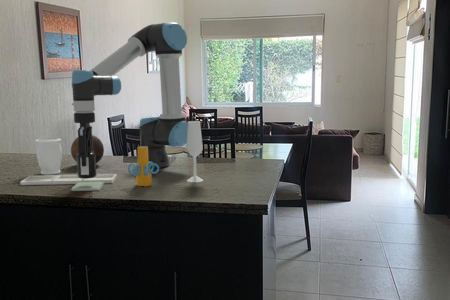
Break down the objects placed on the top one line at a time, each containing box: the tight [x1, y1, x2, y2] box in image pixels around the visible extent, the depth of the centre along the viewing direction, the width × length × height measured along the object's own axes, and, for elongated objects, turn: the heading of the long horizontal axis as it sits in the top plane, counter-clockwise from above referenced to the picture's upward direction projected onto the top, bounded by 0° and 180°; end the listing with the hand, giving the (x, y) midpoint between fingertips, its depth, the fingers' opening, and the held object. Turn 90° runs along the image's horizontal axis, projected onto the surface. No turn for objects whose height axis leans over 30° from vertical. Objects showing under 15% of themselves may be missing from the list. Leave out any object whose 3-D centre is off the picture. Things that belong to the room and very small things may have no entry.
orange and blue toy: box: [127, 145, 160, 187], centre depth 179 cm, size 12×10×15 cm
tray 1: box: [19, 174, 59, 186], centre depth 186 cm, size 11×11×1 cm
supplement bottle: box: [76, 145, 97, 179], centre depth 175 cm, size 7×7×12 cm
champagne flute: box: [185, 120, 204, 183], centre depth 186 cm, size 7×7×24 cm
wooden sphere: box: [70, 134, 105, 164], centre depth 219 cm, size 15×15×15 cm
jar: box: [35, 137, 63, 175], centre depth 202 cm, size 11×10×15 cm
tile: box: [70, 182, 105, 192], centre depth 176 cm, size 10×10×1 cm
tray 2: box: [83, 173, 118, 184], centre depth 188 cm, size 11×11×1 cm
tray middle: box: [51, 174, 84, 186], centre depth 187 cm, size 11×11×1 cm
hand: (87, 172), depth 175 cm, fingers closed on supplement bottle, 7 cm apart
